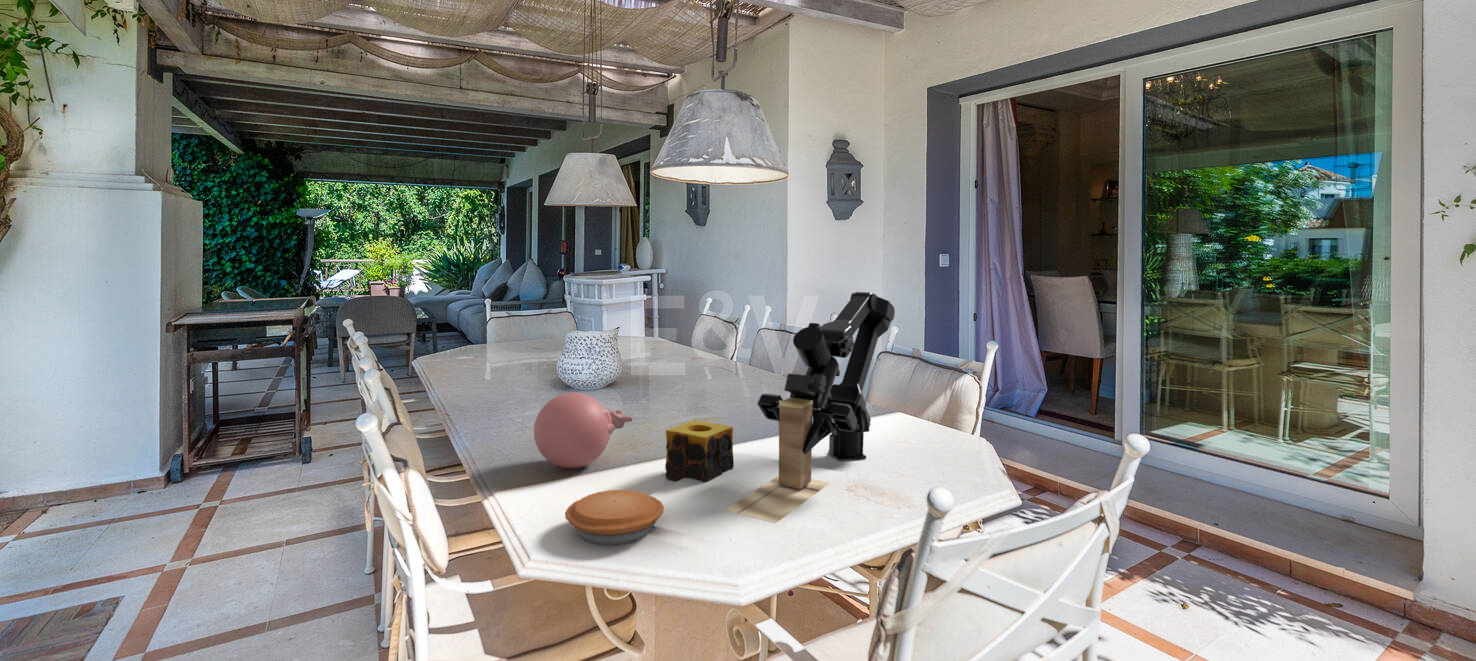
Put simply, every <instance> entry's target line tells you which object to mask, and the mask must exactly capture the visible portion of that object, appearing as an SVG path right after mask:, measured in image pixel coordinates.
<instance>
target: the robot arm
mask: <svg viewBox="0 0 1476 661" xmlns="http://www.w3.org/2000/svg"><path fill="white" fill-rule="evenodd" d="M895 311H896V310H895V306H894V305H893V304H892V303H891V302H890V300H887V299H885V298H882V297H880V296H878V295H877V294H876V293H873V292H867V291H865V292H864V291H863V292H862V291H855V292H852V293H851V295H850V300H849V301H848V302H847V303H846V305H845V306H844V307H843V308H842V310H841V311H840V312H839V314H838V315H837V316H836V317H835V319H833V320H832V321H830V322H826V323H823V324H822V325H820V323H816V322H809V324H808V325H807V327H804V328H802V329H800V330H799V331H797V333H795V334H794V336H793V339H792V342H793V345H794V347H795V350H796V352H797V353H798V356H799V358H800V360H801V361H802V363H803V364H804V366H806V367H807V369H806V371H805V373H804V374H798V373H797V374H796V373H787V374H786V375H787V377H786V379H785V386H784V391H785V392H788V393H790V395H789V398H790V397H792V398H799V399H807V400H813V405H812V426H811V429H810V431H809V434H808V436H807V438H806V441H805V444H804V447H803V453H804V454H807V453H808V452H809V451H810V450H811V449H812V450H813V449H814V447H815V446H816V445H818V444H819V443H820V442H821V441H822V440H824V438H826V437H828V436H829V437H828V438H829V441H828V446H829V447H828V451H827V453H829V454H830V455H831V456H833V457H834V458H835V459H836V460H837V461H850V460H863V459H867V455H866V454H864V433H869V432H870V428H871V421H872V420H871V419H872V418H871V417H870V414H869V412H868V409H867V407H866V406H867V403H866V400H865V397H864V394H863V390H864V387H865V385H866V384H865V383H866V380H867V377H868V374H869V370H870V367H871V364H872V359H873V357H874V353H875V351H876V346H877V344H878V343H877V342H878V340H879V338H880V337H882V336H883V334H885V333H886V332H888V331H889V328H890V326H891V323H892V321H894V318H895V314H896V312H895ZM856 332H857V333H856ZM855 333H856V337H855V339H854V338H853V337H854V335H855ZM854 340H855V341H854ZM849 355H850V356H849ZM848 356H849V359H848V362H847V365H846V369H845V372H844V375H843V378H842V380H841V382H840V383H839V384H836V383H834V381H835V379H836V377H840V375H841V371H840V364H839V362H838V360H837V359H836V358H841V359H842V358H843V359H846V358H847V357H848ZM783 400H784V399H783V397H782V396H781V394H772V393H763V394H761V395H760V397H759V398H758V400H757V402H756V404H757V405H758V407H759V408H760V410H761V413H762V414H763V415H764V417H765V418H766V419H768V420H770V421H777V422H779V417H780V405H779V402H781V401H783Z"/></svg>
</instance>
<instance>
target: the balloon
mask: <svg viewBox="0 0 1476 661" xmlns="http://www.w3.org/2000/svg"><path fill="white" fill-rule="evenodd" d="M633 420H634V418H633V416H631V415H627V414H625V413H624V412H623V410H622V409H617V410H615V411H614V410H611V409H607V408H605V407H604V405H602V404H601V403H600V402H599V401H598V400H597V399H596V398H594V397H592V396H591V395H588V394H585V393H580V392H566V393H562V394H559V395H556V396H555V397H553V398H552V399H550V400H548V401H547V402H546V403H545V404H544V405H542V408H541V409H540V410H539V412H538V414H537V416H536V419H535V422H534V425H533V438H534V442H535V446H536V447H537V450H538V451H539V453H540V454H541V456H543V458H544V459H545V460H547V461H548V462H549V463H551V464H553V465H555V466H557V467H561V468H566V469H578V468H583V467H585V466H587V465H589V464H591V463H592V462H595V461H596V460H597V459H598V458H599V457H600V456H601V455H602V454H603V453H604V452H605V450H606V448H607V446H608V445H609V444H608V443H609V441H610V438H611V435H612V434H613V433H614V431H615V430H617V429H622V428H623V429H624V427H625V423H629V422H633Z"/></svg>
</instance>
